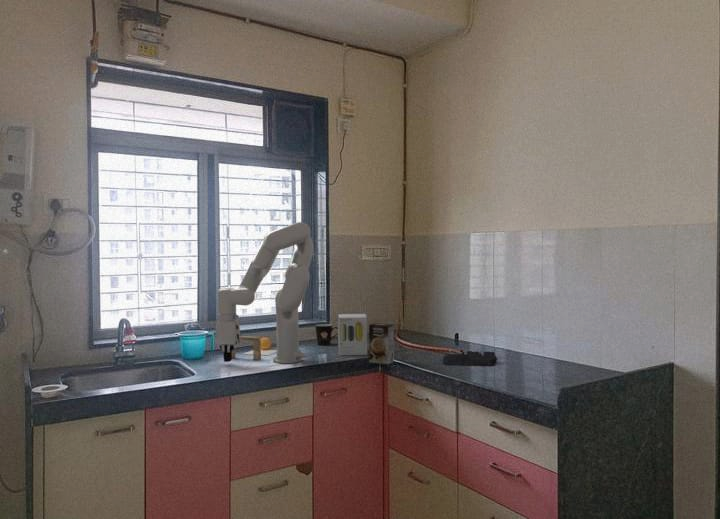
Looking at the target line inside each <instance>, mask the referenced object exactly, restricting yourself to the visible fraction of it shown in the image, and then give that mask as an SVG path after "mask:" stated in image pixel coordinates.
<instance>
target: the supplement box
mask: <svg viewBox="0 0 720 519" xmlns="http://www.w3.org/2000/svg"><path fill="white" fill-rule="evenodd" d="M337 316H338V318H337V319H338V321H337V322H338V323H337V324H338V325H337V328H338V329H337V333H338V335H337V337H338V338H337V339H338V340H337V341H338V342H337V343H338V345H337V346H338V347H337V348H338V356H367V355H368V329H367V328H368V326H367V325H368V324H367V323H368V322H367V321H368V318H367V315H366V313H346V314H343V313H342V314H341V313H339V314H338V315H337Z"/></svg>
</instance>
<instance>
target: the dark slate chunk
mask: <svg viewBox="0 0 720 519" xmlns="http://www.w3.org/2000/svg"><path fill="white" fill-rule="evenodd" d="M497 361H498V358H497V356H496V353H495V351H483V354H482V352H479V351H476V350H475V351H471V350H469V351H466V354H465V353H464V354H461V353H454V354H453V353H452V354H449V353H446V354H444V355H443V357H442V362H443V364H444V365H445V366H449V367H450V366H451V367H452V366H453V367H454V366H457V367H459V366H460V367H462V366H463V367H496V364H497Z"/></svg>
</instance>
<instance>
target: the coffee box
mask: <svg viewBox="0 0 720 519" xmlns="http://www.w3.org/2000/svg"><path fill="white" fill-rule="evenodd" d="M394 332H395V324H393V323H392V324H391V323H378V322H375V323H370V324H368V341H369V342H368V343H369V344H368V348H369V349H368V351H369V352H368V354H369V356H368V357H369V358H368V360H369V361H368V362H369V363H370V364H371V363H373V364H382V365H390V364H391V363H395V352H394V351H395V350H394V349H395V337H394V336H395V333H394Z"/></svg>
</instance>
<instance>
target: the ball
mask: <svg viewBox="0 0 720 519" xmlns="http://www.w3.org/2000/svg"><path fill="white" fill-rule="evenodd" d="M271 346H272V341H271V339H270V338H268V337H265V336H264V337H261V349H263V350H267V349H270V348H271Z"/></svg>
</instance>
